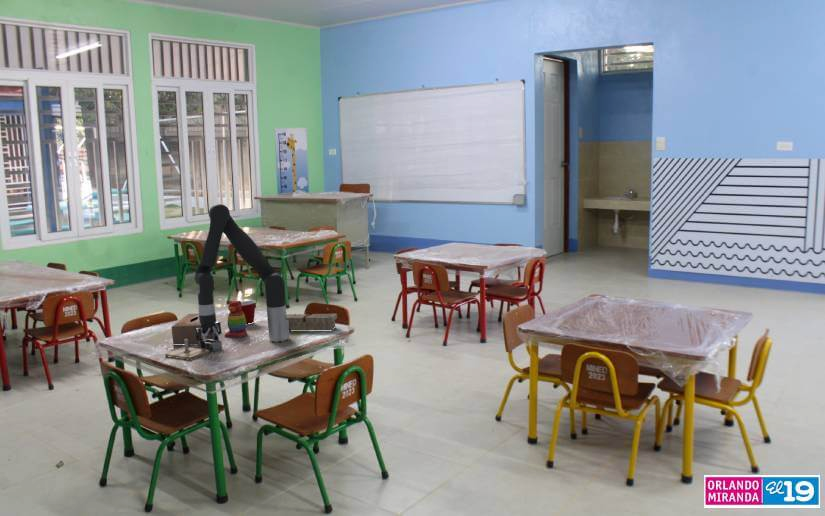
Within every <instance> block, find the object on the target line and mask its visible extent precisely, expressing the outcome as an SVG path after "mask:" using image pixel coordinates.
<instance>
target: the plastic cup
mask: <svg viewBox="0 0 825 516" xmlns="http://www.w3.org/2000/svg"><path fill="white" fill-rule="evenodd" d="M241 304H242V309H241V311H242V312H243V313H244V315H245V318H246V324H248V323H252V322H255V313H256V310H255V309H256V304H257V301H256V300H253V299H252V300H244V301H241Z"/></svg>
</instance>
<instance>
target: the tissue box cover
mask: <svg viewBox="0 0 825 516" xmlns="http://www.w3.org/2000/svg"><path fill="white" fill-rule="evenodd" d="M216 314H217V313H216V312H215V316H216V317H217V315H216ZM196 328H201V324H200V321H199V312H197V313H188V314H186V315H185V316H183V317H182V318H181V319H179V320H178V321H177V322H175V323H174V324H173V325H171V335H172V345H173V344H184V339H188V344H199V342H200V341H198V340H196ZM215 329H216V328H215ZM203 334H204V333H203ZM213 336H214V335H213V334H212V333H210V334H209V335H207V337H206V338H205V340H206V339H210V338H212V337H213ZM202 338H203V337H202Z"/></svg>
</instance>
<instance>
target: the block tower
mask: <svg viewBox="0 0 825 516" xmlns="http://www.w3.org/2000/svg"><path fill="white" fill-rule="evenodd" d="M286 316H287V320H288V321H289V329H290V330H332V329H333V328H334V327H336V319H338V313H312V314H311V315H308V314H307V313H304V314H302V313H301V314H299V313H292V314H287V313H286ZM290 330H289V331H290ZM332 331H333V330H332Z"/></svg>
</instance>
